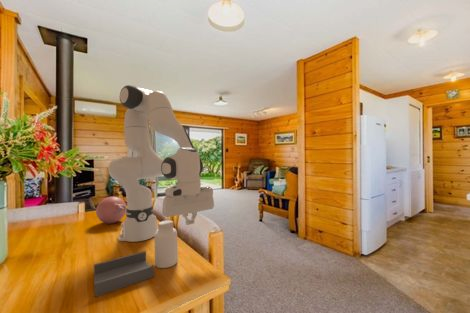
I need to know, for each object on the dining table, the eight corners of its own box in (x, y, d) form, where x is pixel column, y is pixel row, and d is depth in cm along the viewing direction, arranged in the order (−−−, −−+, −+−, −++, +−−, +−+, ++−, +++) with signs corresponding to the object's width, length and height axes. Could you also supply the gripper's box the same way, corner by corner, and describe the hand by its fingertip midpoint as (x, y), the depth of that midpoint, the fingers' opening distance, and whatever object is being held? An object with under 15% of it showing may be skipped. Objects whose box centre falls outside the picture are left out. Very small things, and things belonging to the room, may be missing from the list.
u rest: (94, 275, 69) (94, 264, 69) (145, 260, 78) (145, 251, 78) (94, 296, 59) (94, 284, 59) (153, 277, 68) (153, 266, 68)
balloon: (108, 230, 109) (107, 201, 109) (91, 224, 121) (91, 197, 121) (136, 222, 122) (135, 196, 122) (118, 217, 133) (118, 193, 133)
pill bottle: (169, 255, 82) (169, 217, 82) (182, 262, 77) (181, 221, 77) (150, 263, 76) (149, 223, 76) (162, 271, 71) (162, 227, 71)
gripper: (209, 185, 90) (209, 217, 90) (160, 190, 78) (161, 227, 78) (216, 186, 85) (217, 220, 85) (165, 192, 73) (166, 232, 73)
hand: (190, 223), depth 81 cm, fingers closed
